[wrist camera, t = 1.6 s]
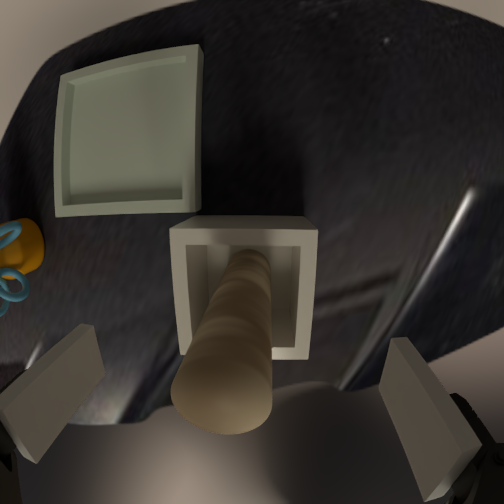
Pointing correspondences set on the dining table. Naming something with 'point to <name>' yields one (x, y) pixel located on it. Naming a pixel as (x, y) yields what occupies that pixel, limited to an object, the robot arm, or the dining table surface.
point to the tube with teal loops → (18, 256)
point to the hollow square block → (218, 256)
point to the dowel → (231, 353)
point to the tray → (130, 135)
